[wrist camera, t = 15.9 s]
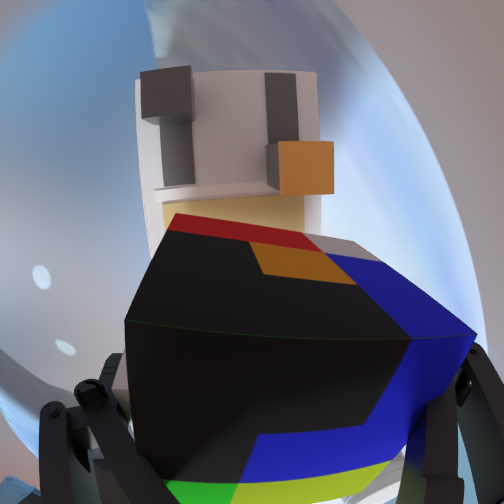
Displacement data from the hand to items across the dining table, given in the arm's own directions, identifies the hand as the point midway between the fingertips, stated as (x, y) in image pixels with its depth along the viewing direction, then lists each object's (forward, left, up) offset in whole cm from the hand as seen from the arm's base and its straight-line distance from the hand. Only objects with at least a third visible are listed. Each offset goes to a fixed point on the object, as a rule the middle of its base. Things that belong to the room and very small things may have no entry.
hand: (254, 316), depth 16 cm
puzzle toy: (0, 0, -1) cm, 1 cm away
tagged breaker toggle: (+4, +8, -8) cm, 12 cm away
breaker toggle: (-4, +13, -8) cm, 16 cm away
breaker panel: (0, +5, -10) cm, 11 cm away
